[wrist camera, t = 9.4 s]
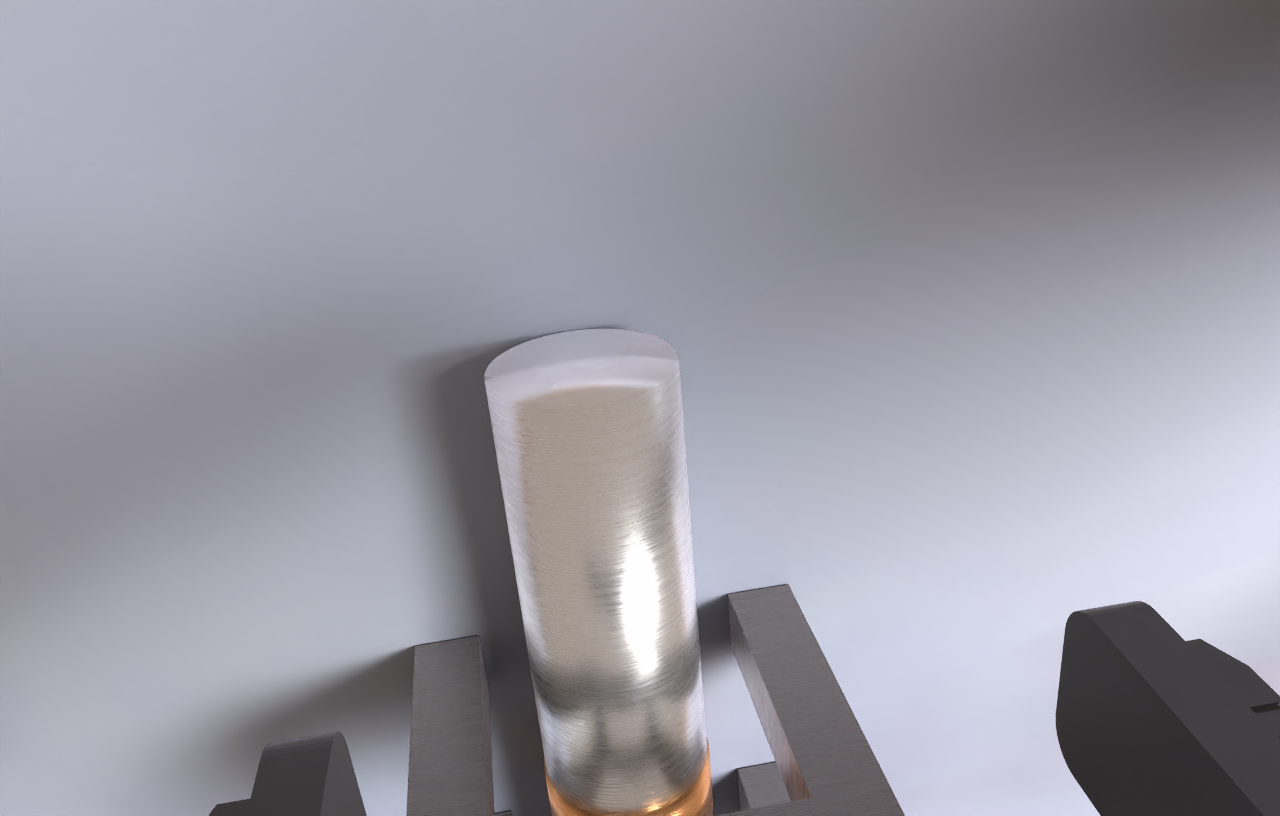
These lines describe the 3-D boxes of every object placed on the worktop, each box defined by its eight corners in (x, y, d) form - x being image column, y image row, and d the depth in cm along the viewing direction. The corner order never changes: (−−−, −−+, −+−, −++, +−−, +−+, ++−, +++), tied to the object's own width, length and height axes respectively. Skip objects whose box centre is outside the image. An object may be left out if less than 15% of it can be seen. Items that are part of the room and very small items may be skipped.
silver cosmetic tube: (496, 334, 24) (466, 414, 20) (680, 321, 23) (682, 401, 20) (574, 849, 31) (561, 980, 27) (716, 843, 30) (723, 974, 27)
